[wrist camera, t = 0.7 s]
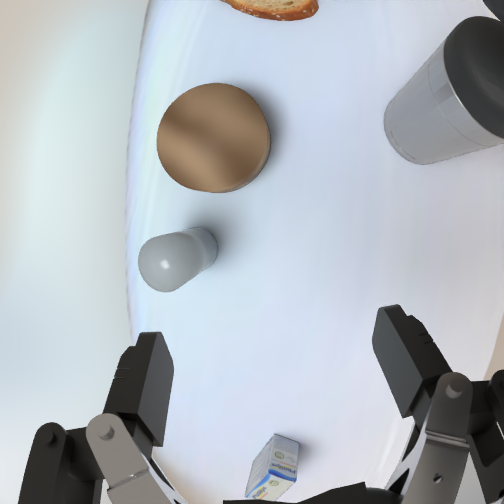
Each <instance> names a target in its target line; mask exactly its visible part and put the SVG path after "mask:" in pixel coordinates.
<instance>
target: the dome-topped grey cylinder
mask: <svg viewBox="0 0 504 504" xmlns="http://www.w3.org/2000/svg"><path fill="white" fill-rule="evenodd" d="M217 253H218V246H217V242H216V240H215V238H214V237H213V235H212V234H211V233H210V232H208V231H207V230H205V229H202V228H191V229H187V230H183V231H178V232H174V233H170V234H166V235H161V236H157V237H154V238H151V239H150V240H148V241H147V242H146V243H145V244H144V245H143V246H142V248H141V250H140V253H139V257H138V266H139V271H140V274H141V276H142V278H143V279H144V281H145V282H146V283H147V284H148V285H149V286H150V287H151V288H153V289H155V290H157V291H160V292H171V291H174V290H176V289H178V288H179V287H181V286H182V285H184V284H185V283H187V282H188V281H190V280H191V279H192V278H194V277H195V276H197V275H198V274H200V273H201V272H202V271H204V270H205V269H207V268H208V267H210V266H211V265H212V264H213V263H214V261H215V260H216V257H217Z"/></svg>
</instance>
